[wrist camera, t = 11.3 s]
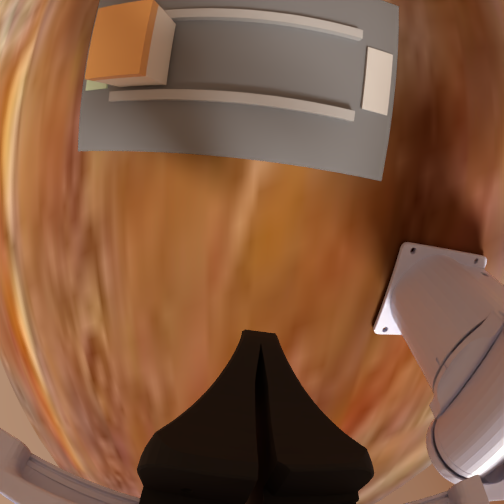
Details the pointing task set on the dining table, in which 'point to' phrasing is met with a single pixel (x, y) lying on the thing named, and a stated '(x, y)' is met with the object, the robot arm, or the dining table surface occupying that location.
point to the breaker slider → (131, 45)
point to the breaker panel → (261, 86)
